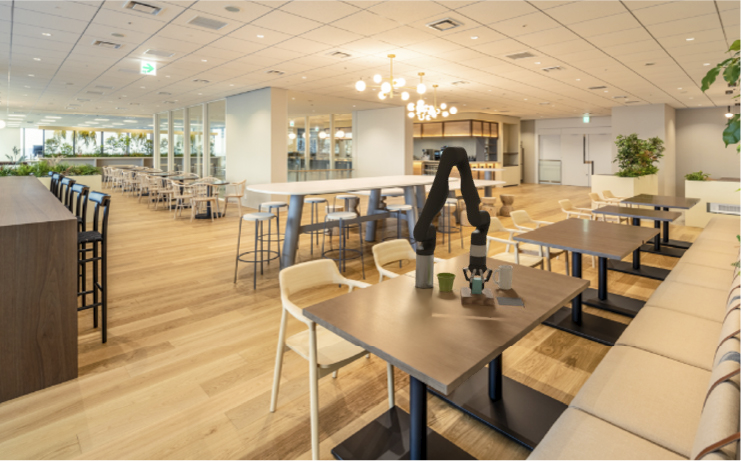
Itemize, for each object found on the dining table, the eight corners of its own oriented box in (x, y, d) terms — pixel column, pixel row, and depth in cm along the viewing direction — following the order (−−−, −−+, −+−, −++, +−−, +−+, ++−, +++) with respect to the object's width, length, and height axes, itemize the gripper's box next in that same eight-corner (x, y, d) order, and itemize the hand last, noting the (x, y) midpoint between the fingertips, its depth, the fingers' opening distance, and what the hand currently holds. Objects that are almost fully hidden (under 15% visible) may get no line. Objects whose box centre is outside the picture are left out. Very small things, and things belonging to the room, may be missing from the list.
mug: (508, 286, 207) (509, 264, 205) (514, 291, 201) (515, 268, 199) (489, 287, 206) (490, 265, 204) (494, 291, 200) (495, 268, 198)
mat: (498, 306, 180) (498, 304, 179) (495, 298, 190) (495, 296, 190) (524, 308, 178) (524, 306, 177) (520, 299, 188) (520, 297, 188)
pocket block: (461, 305, 181) (461, 296, 180) (460, 295, 195) (460, 286, 194) (493, 307, 179) (493, 298, 178) (490, 297, 192) (490, 288, 191)
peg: (472, 300, 185) (472, 279, 183) (471, 297, 189) (472, 277, 187) (481, 301, 184) (481, 280, 182) (480, 298, 188) (481, 277, 186)
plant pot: (455, 295, 195) (455, 278, 194) (435, 294, 197) (436, 277, 196) (455, 289, 204) (455, 272, 203) (436, 288, 206) (436, 272, 205)
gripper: (462, 255, 180) (461, 291, 183) (495, 256, 178) (493, 293, 181) (461, 251, 188) (460, 286, 191) (493, 252, 185) (491, 288, 188)
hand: (476, 289), depth 186 cm, fingers closed on peg, 4 cm apart
